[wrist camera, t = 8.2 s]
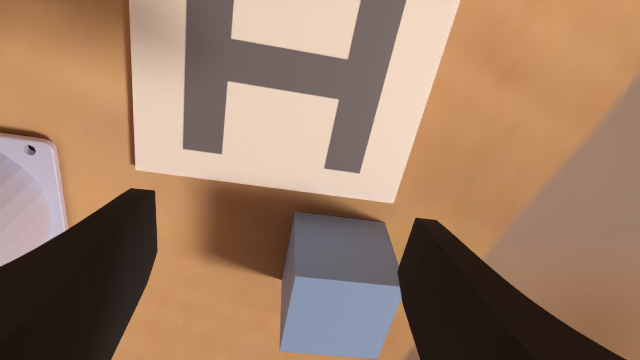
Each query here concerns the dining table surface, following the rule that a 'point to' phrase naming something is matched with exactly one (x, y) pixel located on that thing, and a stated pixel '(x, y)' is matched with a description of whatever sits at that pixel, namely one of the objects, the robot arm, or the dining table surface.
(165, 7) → the letter card
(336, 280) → the blue cube
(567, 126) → the dining table surface
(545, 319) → the robot arm
